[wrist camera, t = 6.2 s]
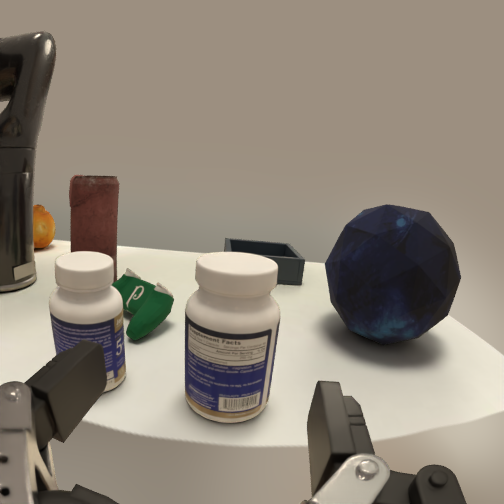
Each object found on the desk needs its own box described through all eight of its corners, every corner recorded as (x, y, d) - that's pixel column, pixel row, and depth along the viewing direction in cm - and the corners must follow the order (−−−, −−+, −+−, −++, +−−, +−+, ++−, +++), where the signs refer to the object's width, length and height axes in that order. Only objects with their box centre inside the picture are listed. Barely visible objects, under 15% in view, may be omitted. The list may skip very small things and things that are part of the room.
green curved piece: (154, 354, 28) (188, 303, 30) (129, 337, 25) (167, 282, 28) (105, 319, 33) (135, 278, 36) (84, 302, 30) (116, 258, 33)
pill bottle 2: (212, 368, 24) (221, 244, 22) (279, 392, 22) (301, 261, 20) (167, 403, 19) (166, 259, 17) (243, 438, 17) (263, 283, 15)
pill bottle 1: (135, 389, 20) (132, 272, 18) (65, 400, 17) (45, 277, 15) (116, 349, 24) (114, 246, 22) (57, 356, 21) (45, 249, 19)
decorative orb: (357, 328, 21) (460, 180, 22) (275, 268, 35) (357, 170, 36) (420, 390, 27) (496, 276, 28) (344, 330, 41) (409, 245, 41)
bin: (223, 280, 47) (226, 253, 46) (223, 259, 58) (225, 238, 57) (301, 285, 48) (305, 259, 47) (286, 264, 59) (289, 243, 58)
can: (64, 281, 37) (64, 174, 34) (104, 275, 42) (107, 174, 39) (80, 297, 34) (79, 175, 30) (124, 288, 38) (128, 176, 35)
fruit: (27, 238, 44) (47, 200, 48) (2, 232, 45) (22, 197, 49) (50, 261, 51) (67, 225, 55) (25, 253, 52) (41, 220, 56)
